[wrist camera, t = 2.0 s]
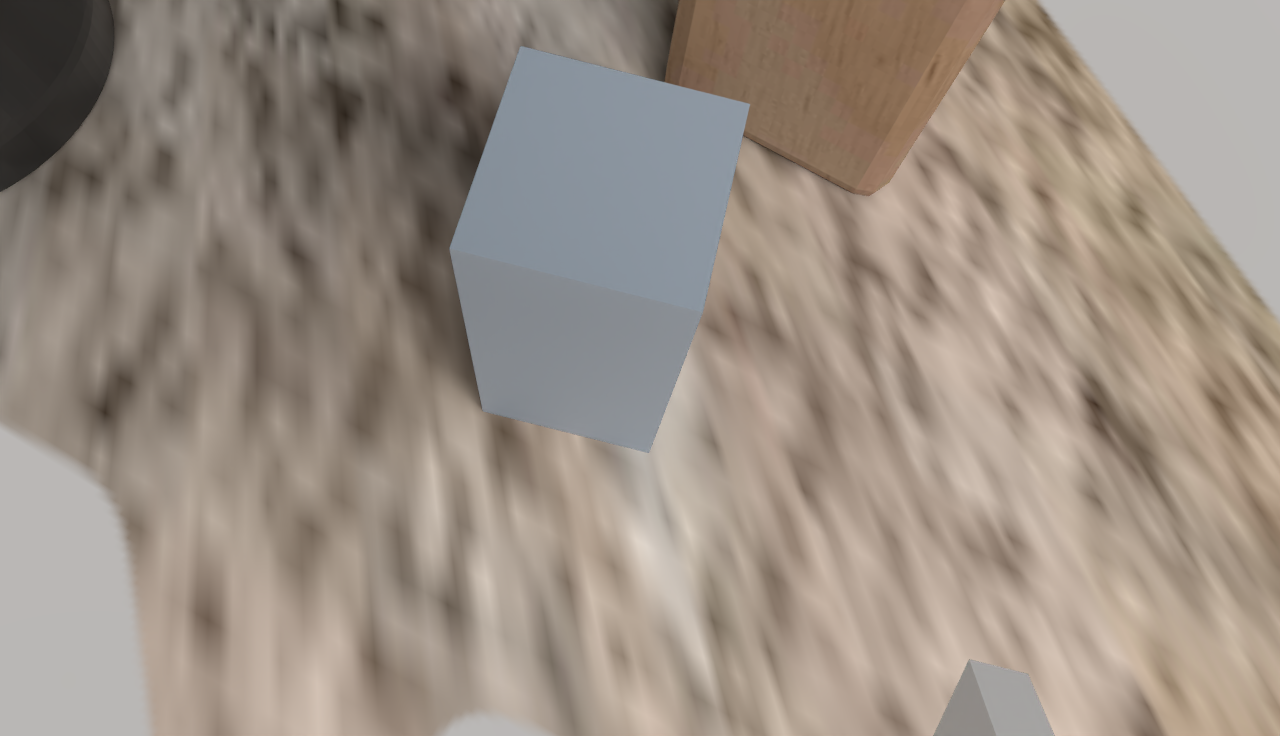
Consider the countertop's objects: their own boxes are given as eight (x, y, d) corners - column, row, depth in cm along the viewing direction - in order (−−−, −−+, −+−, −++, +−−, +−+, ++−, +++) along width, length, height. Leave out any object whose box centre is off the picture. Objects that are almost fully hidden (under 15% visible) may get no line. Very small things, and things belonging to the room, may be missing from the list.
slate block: (482, 411, 32) (449, 248, 21) (529, 263, 35) (520, 45, 23) (648, 452, 32) (703, 312, 21) (684, 303, 35) (750, 104, 23)
